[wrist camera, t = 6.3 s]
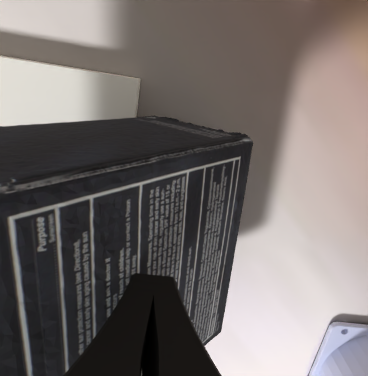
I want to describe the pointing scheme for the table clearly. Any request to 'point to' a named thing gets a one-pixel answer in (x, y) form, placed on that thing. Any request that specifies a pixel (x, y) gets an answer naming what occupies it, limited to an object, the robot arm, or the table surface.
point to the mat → (62, 93)
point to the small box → (111, 228)
